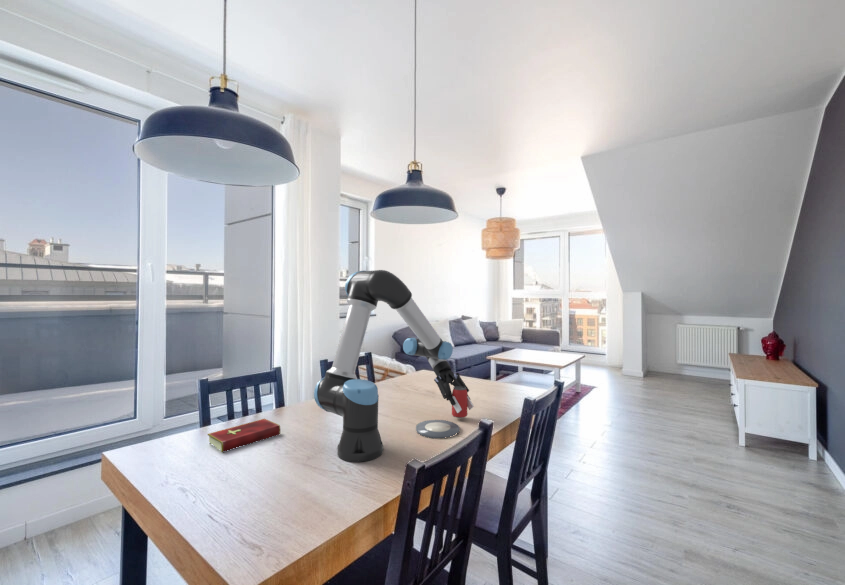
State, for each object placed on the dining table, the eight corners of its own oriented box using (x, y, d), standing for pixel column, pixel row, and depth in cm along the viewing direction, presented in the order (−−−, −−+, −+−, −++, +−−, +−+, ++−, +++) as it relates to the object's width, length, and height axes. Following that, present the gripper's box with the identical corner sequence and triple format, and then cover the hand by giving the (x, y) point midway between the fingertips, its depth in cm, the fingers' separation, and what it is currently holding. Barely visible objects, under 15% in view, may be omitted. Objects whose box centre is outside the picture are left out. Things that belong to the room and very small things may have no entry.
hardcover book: (280, 435, 140) (280, 424, 140) (221, 454, 124) (222, 441, 124) (264, 428, 147) (264, 417, 147) (207, 444, 131) (207, 433, 131)
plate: (442, 442, 133) (442, 438, 133) (407, 431, 144) (407, 427, 144) (467, 429, 146) (467, 425, 146) (434, 419, 157) (434, 416, 157)
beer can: (449, 414, 160) (449, 386, 160) (462, 412, 162) (463, 385, 162) (455, 419, 154) (456, 390, 154) (470, 417, 156) (470, 388, 156)
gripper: (451, 367, 176) (476, 410, 163) (419, 372, 163) (444, 419, 151) (459, 357, 172) (485, 400, 159) (427, 362, 159) (453, 409, 147)
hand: (465, 409), depth 155 cm, fingers closed on beer can, 7 cm apart
